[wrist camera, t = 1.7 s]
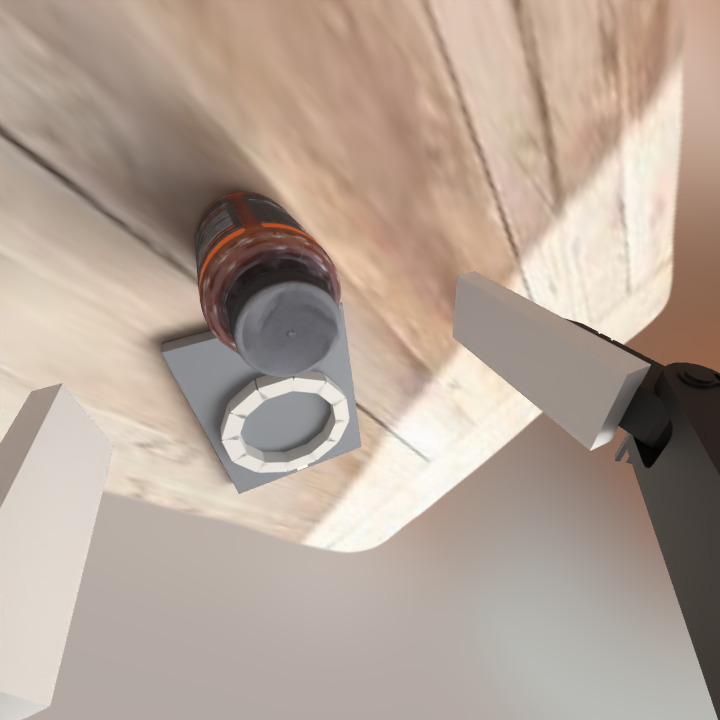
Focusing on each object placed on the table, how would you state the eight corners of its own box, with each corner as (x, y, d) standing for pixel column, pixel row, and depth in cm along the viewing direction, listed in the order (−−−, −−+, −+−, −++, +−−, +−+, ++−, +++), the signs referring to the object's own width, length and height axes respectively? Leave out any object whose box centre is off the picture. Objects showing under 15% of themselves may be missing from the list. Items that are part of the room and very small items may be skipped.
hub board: (162, 343, 22) (160, 363, 20) (336, 297, 25) (348, 311, 23) (237, 483, 32) (240, 505, 30) (356, 438, 35) (365, 455, 33)
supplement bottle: (190, 281, 21) (190, 398, 12) (199, 174, 18) (207, 230, 10) (287, 295, 24) (341, 399, 15) (307, 205, 21) (387, 270, 12)
